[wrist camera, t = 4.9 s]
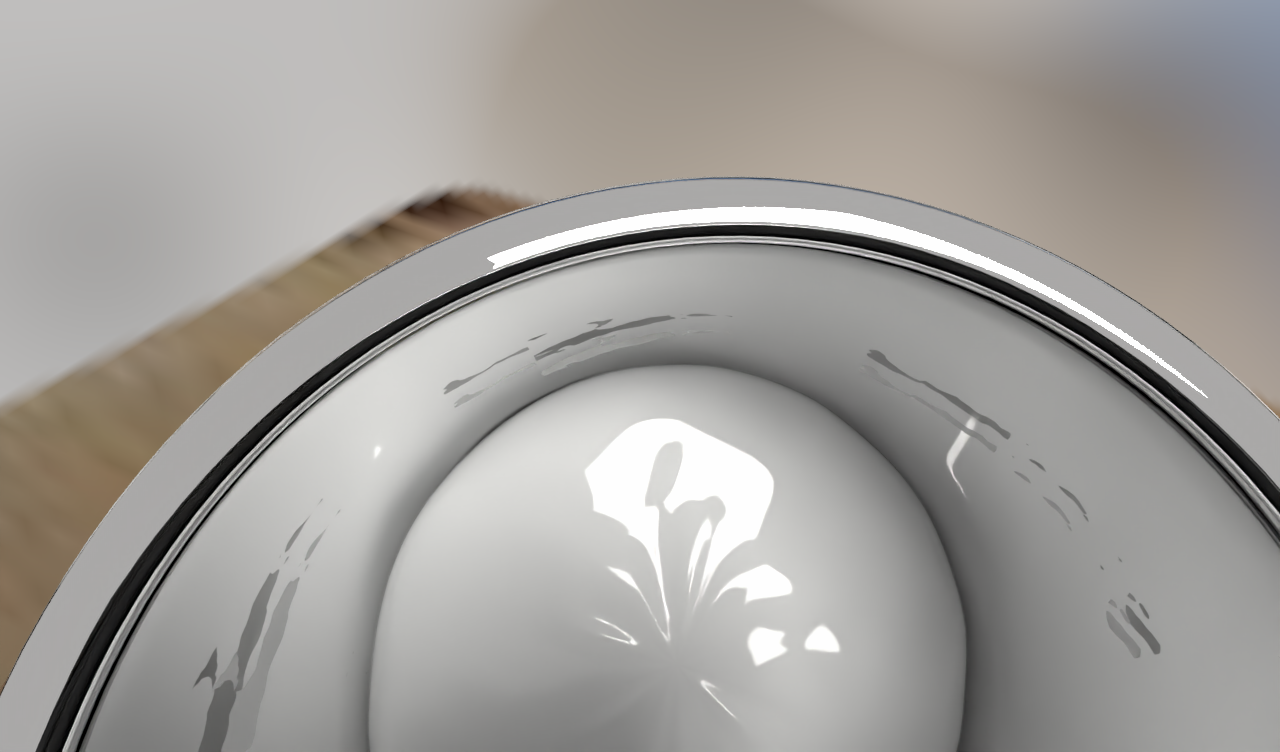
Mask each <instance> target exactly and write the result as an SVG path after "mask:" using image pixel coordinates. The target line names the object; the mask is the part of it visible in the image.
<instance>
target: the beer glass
mask: <svg viewBox="0 0 1280 752" xmlns="http://www.w3.org/2000/svg"><path fill="white" fill-rule="evenodd" d="M0 752H1280V419H1279V418H1278V417H1277V416H1276V414H1275V413H1274V412H1272V411H1271V410H1270V409H1269V408H1268V407H1267V406H1266V405H1265V404H1264V403H1263V402H1262V401H1261V400H1260V399H1259V398H1258V397H1257V396H1256V395H1255V394H1254V393H1253V392H1252V391H1251V390H1250V389H1249V388H1248V387H1247V386H1245V385H1244V384H1243V383H1242V382H1241V381H1240V380H1239V379H1238V378H1236V377H1235V376H1234V375H1233V374H1232V373H1231V372H1230V371H1228V370H1227V369H1226V368H1225V367H1224V366H1223V365H1222V364H1220V363H1219V362H1218V361H1217V360H1215V359H1214V358H1213V357H1212V356H1210V355H1209V354H1208V353H1207V352H1206V351H1204V350H1203V349H1202V348H1201V347H1199V346H1198V345H1197V344H1196V343H1194V342H1193V341H1192V340H1190V339H1189V338H1188V337H1186V336H1185V335H1184V334H1182V333H1181V332H1180V331H1178V330H1177V329H1176V328H1174V327H1173V326H1172V325H1170V324H1169V323H1168V322H1166V321H1165V320H1163V319H1162V318H1160V317H1159V316H1157V315H1156V314H1155V313H1153V312H1152V311H1150V310H1149V309H1147V308H1146V307H1144V306H1143V305H1142V304H1140V303H1139V302H1137V301H1136V300H1134V299H1132V298H1131V297H1129V296H1128V295H1126V294H1124V293H1123V292H1121V291H1120V290H1118V289H1117V288H1115V287H1113V286H1112V285H1110V284H1109V283H1107V282H1105V281H1103V280H1101V279H1100V278H1098V277H1096V276H1095V275H1093V274H1091V273H1089V272H1088V271H1086V270H1084V269H1082V268H1081V267H1079V266H1077V265H1075V264H1073V263H1071V262H1069V261H1067V260H1065V259H1063V258H1061V257H1059V256H1057V255H1055V254H1053V253H1052V252H1049V251H1047V250H1045V249H1043V248H1040V247H1038V246H1036V245H1034V244H1031V243H1030V242H1028V241H1025V240H1023V239H1021V238H1018V237H1016V236H1014V235H1011V234H1009V233H1006V232H1004V231H1001V230H999V229H997V228H994V227H992V226H989V225H987V224H984V223H981V222H978V221H976V220H973V219H970V218H968V217H965V216H962V215H959V214H956V213H953V212H950V211H947V210H943V209H940V208H937V207H934V206H931V205H927V204H923V203H920V202H916V201H912V200H909V199H905V198H901V197H897V196H893V195H888V194H884V193H879V192H874V191H870V190H864V189H859V188H854V187H848V186H843V185H837V184H830V183H822V182H813V181H804V180H794V179H783V178H770V177H769V178H768V177H698V178H680V179H669V180H658V181H647V182H640V183H633V184H627V185H619V186H613V187H608V188H603V189H597V190H592V191H587V192H582V193H578V194H574V195H570V196H566V197H562V198H557V199H553V200H549V201H546V202H542V203H539V204H535V205H532V206H528V207H525V208H521V209H518V210H515V211H512V212H509V213H506V214H504V215H501V216H498V217H495V218H492V219H489V220H486V221H484V222H481V223H479V224H476V225H474V226H471V227H469V228H466V229H464V230H461V231H458V232H456V233H454V234H451V235H449V236H447V237H445V238H442V239H440V240H438V241H435V242H433V243H431V244H429V245H426V246H424V247H422V248H420V249H418V250H416V251H414V252H412V253H410V254H408V255H406V256H404V257H402V258H400V259H398V260H396V261H394V262H392V263H391V264H389V265H387V266H385V267H383V268H382V269H380V270H378V271H376V272H374V273H373V274H371V275H369V276H367V277H365V278H364V279H362V280H361V281H359V282H357V283H356V284H354V285H353V286H351V287H349V288H348V289H346V290H345V291H343V292H341V293H340V294H338V295H337V296H335V297H333V298H332V299H331V300H329V301H328V302H326V303H325V304H323V305H322V306H320V307H319V308H317V309H316V310H314V311H313V312H311V313H310V314H308V315H307V316H305V317H304V318H303V319H301V320H300V321H299V322H297V323H296V324H295V325H293V326H292V327H291V328H289V329H288V330H287V331H285V332H284V333H283V334H281V335H280V336H278V337H277V338H276V339H275V340H273V341H272V342H271V343H270V344H269V345H267V346H266V347H265V348H264V349H262V350H261V351H260V352H259V353H258V354H256V355H255V356H254V357H253V358H251V359H250V360H249V361H248V362H247V363H246V364H244V365H243V366H242V367H241V368H240V369H239V370H238V371H237V372H236V373H235V374H233V375H232V376H231V377H230V378H229V379H228V380H227V381H226V382H225V383H223V384H222V385H221V386H220V387H219V388H218V389H217V390H216V391H215V392H214V393H213V394H212V395H211V396H210V397H209V398H208V399H207V400H206V401H205V402H204V403H203V404H202V405H200V406H199V407H198V408H197V409H196V410H195V411H194V412H193V413H192V414H191V415H190V416H189V417H188V419H187V420H186V421H185V422H184V423H183V424H182V425H181V426H180V427H179V428H178V429H177V430H176V431H175V432H174V433H173V434H172V435H171V436H170V437H169V439H168V440H167V441H166V442H165V443H164V444H163V445H162V446H161V448H160V449H159V450H158V451H157V452H156V453H155V455H154V456H153V457H152V458H151V459H150V460H149V462H148V463H147V464H146V465H145V466H144V467H143V469H142V470H141V471H140V472H139V473H138V475H137V476H136V477H135V478H134V480H133V481H132V482H131V484H130V485H129V486H128V487H127V489H126V490H125V491H124V492H123V494H122V495H121V496H120V497H119V499H118V500H117V501H116V502H115V504H114V505H113V506H112V508H111V509H110V510H109V512H108V513H107V515H106V516H105V517H104V519H103V520H102V521H101V523H100V524H99V526H98V527H97V528H96V530H95V531H94V532H93V534H92V535H91V537H90V538H89V539H88V541H87V542H86V544H85V546H84V547H83V549H82V550H81V552H80V553H79V555H78V556H77V558H76V559H75V561H74V562H73V564H72V565H71V567H70V568H69V570H68V571H67V573H66V574H65V576H64V578H63V579H62V581H61V583H60V584H59V586H58V588H57V589H56V591H55V593H54V594H53V596H52V598H51V599H50V601H49V602H48V604H47V606H46V607H45V609H44V611H43V613H42V614H41V616H40V618H39V620H38V622H37V623H36V625H35V627H34V629H33V630H32V632H31V634H30V636H29V638H28V639H27V641H26V643H25V645H24V647H23V648H22V650H21V652H20V654H19V656H18V658H17V660H16V663H15V665H14V667H13V669H12V671H11V673H10V675H9V677H8V679H7V681H6V683H5V685H4V687H3V689H2V691H1V693H0Z"/></svg>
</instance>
